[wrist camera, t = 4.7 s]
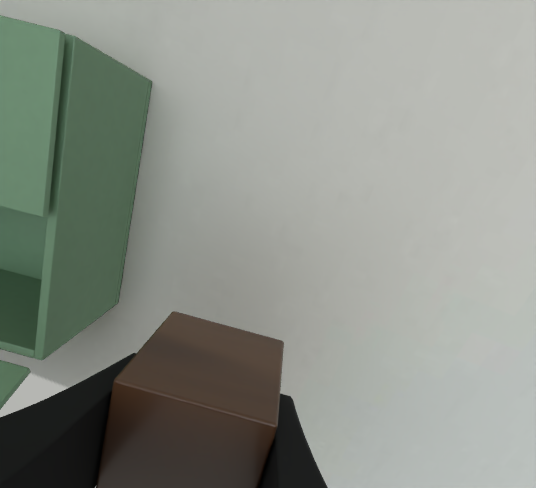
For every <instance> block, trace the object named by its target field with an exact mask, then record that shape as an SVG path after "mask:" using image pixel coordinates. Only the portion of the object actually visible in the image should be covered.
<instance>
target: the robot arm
mask: <svg viewBox="0 0 536 488" xmlns="http://www.w3.org/2000/svg"><path fill="white" fill-rule="evenodd" d="M135 355H136V353H133V354H131V355H129V356H127V357H126V358H124V359H122V360H120V361H118V362H116V363H115V364H113V365H111V366H109V367H108V368H106V369H104V370H102V371H100V372H99V373H97V374H95V375H93V376H91V377H89V378H87V379H85V380H84V381H82V382H80V383H78V384H76V385H74V386H72V387H70V388H68V389H66V390H64V391H62V392H59V393H57V394H55V395H53V396H51V397H49V398H47V399H45V400H43V401H40V402H38V403H36V404H33V405H31V406H29V407H26V408H24V409H21V410H19V411H16V412H13V413H11V414H8V415H6V416H3V417H0V488H95V486H96V484H97V478H98V472H99V466H100V460H101V454H102V448H103V442H104V436H105V430H106V424H107V418H108V412H109V406H110V400H111V394H112V388H113V382H114V379H115V378H116V377H117V376H118V375H119V374H120V372H121V371H122V370H123V369H124V368H125V367H126V365H127V364H128V363H129V362H130V361H131V360H132V358H133V357H134V356H135ZM259 488H328V487H327V485H326V483H325V481H324V479H323V477H322V475H321V473H320V471H319V469H318V467H317V464H316V462H315V460H314V458H313V455H312V453H311V450H310V448H309V445H308V443H307V440H306V438H305V435H304V433H303V430H302V427H301V424H300V421H299V418H298V415H297V412H296V409H295V406H294V402H293V399H292V398H291V396H287V395H284V394H280V401H279V414H278V427H277V430H276V433H275V436H274V440H273V443H272V446H271V449H270V453H269V456H268V459H267V462H266V466H265V469H264V472H263V475H262V479H261V482H260V485H259Z"/></svg>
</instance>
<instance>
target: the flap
mask: <svg viewBox="0 0 536 488" xmlns="http://www.w3.org/2000/svg"><path fill="white" fill-rule="evenodd" d="M30 372H31V371H30V369H29V368H27V367H23V366H19V365H16V364H12V363H9V362H5V361H1V360H0V409H1V408H2V407H3V405H4V404H5V403H6V402H7V401H8V399H9V398H10V397H11V396H12V394H13V393H14V392H15V391H16V389H17V388H18V387H19V386H20V384H21V383H22V382H23V381H24V379H25V378H26V377H27V376H28V374H29V373H30Z"/></svg>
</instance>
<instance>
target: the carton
mask: <svg viewBox="0 0 536 488" xmlns="http://www.w3.org/2000/svg"><path fill="white" fill-rule="evenodd" d="M151 86H152V81H151V80H149V79H147V78H145V77H144V76H142V75H140V74H139V73H137V72H135V71H133V70H132V69H130V68H128V67H127V66H125V65H123V64H122V63H120V62H118V61H116V60H115V59H113V58H111V57H110V56H108V55H106V54H104V53H103V52H101V51H99V50H98V49H96V48H94V47H92V46H91V45H89V44H87V43H86V42H84V41H82V40H81V39H79V38H77V37H75V36H72V35H68V34H65V33H63V32H62V31H60V30H57V29H53V28H49V27H45V26H41V25H37V24H33V23H29V22H25V21H21V20H17V19H13V18H9V17H5V16H1V15H0V349H2V350H6V351H10V352H13V353H17V354H20V355H24V356H28V357H31V358H35V359H39V360H44V359H45V358H46V357H48V356H49V355H50V354H52V353H53V352H54V351H56V350H57V349H58V348H60V347H61V346H62V345H63V344H65V343H66V342H67V341H69V340H70V339H71V338H73V337H74V336H75V335H77V334H78V333H79V332H80V331H82V330H83V329H84V328H86V327H87V326H88V325H90V324H91V323H92V322H94V321H95V320H96V319H98V318H99V317H100V316H101V315H103V314H104V313H105V312H107V311H108V310H109V309H111V308H112V307H113V306H114V305H116V304H117V303H118V300H119V294H120V287H121V281H122V274H123V268H124V261H125V255H126V248H127V242H128V235H129V229H130V222H131V216H132V209H133V203H134V196H135V190H136V183H137V177H138V170H139V164H140V157H141V151H142V144H143V138H144V131H145V125H146V118H147V112H148V105H149V99H150V92H151Z"/></svg>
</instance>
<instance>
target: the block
mask: <svg viewBox="0 0 536 488" xmlns="http://www.w3.org/2000/svg"><path fill="white" fill-rule="evenodd" d="M283 347H284V342H283V341H281V340H277V339H274V338H270V337H266V336H263V335H259V334H255V333H252V332H248V331H244V330H241V329H237V328H233V327H230V326H226V325H222V324H219V323H215V322H211V321H208V320H204V319H200V318H197V317H193V316H189V315H186V314H182V313H179V312H172V313H171V314H170V315H169V316H168V318H167V319H166V320H165V321H164V322H163V323H162V325H161V326H160V327H159V328H158V329H157V330H156V332H155V333H154V334H153V335H152V336H151V337H150V339H149V340H148V341H147V342H146V343H145V344H144V346H143V347H142V348H141V349H140V350H139V351H138V353H137V354H136V355H135V356H134V357H133V358H132V360H131V361H130V362H129V363H128V364H127V365H126V367H125V368H124V369H123V370H122V371H121V372H120V374H119V375H118V376H117V377H116V378H115V379H114V382H113V388H112V394H111V400H110V406H109V412H108V418H107V424H106V430H105V436H104V442H103V448H102V454H101V460H100V466H99V472H98V478H97V484H96V488H259V485H260V482H261V479H262V475H263V472H264V469H265V466H266V462H267V459H268V456H269V453H270V449H271V446H272V443H273V440H274V436H275V433H276V430H277V427H278V414H279V401H280V387H281V374H282V360H283Z"/></svg>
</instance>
